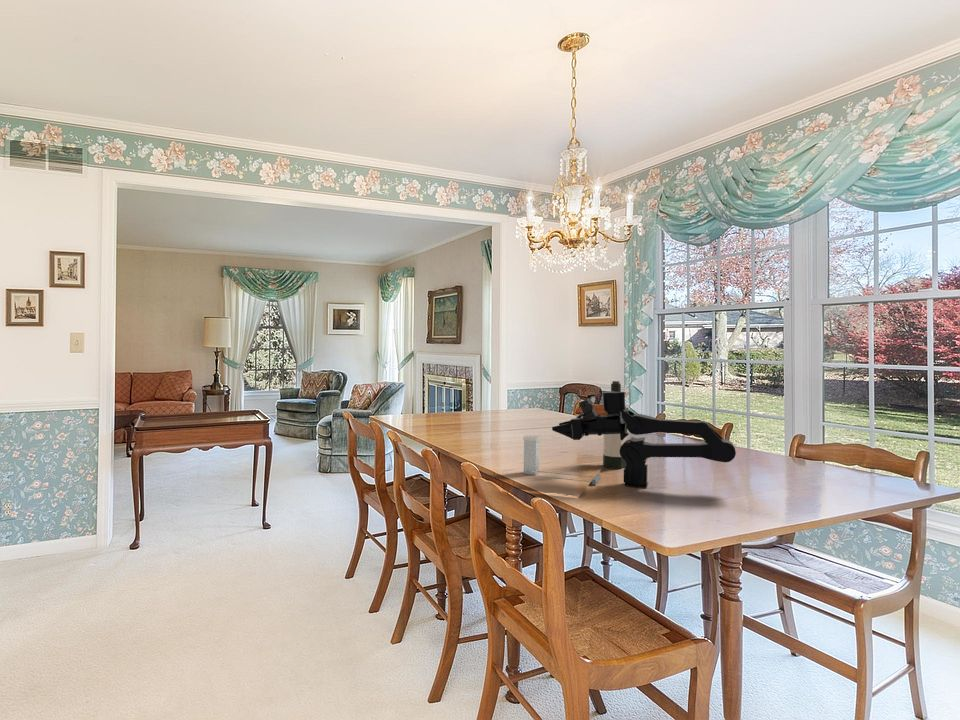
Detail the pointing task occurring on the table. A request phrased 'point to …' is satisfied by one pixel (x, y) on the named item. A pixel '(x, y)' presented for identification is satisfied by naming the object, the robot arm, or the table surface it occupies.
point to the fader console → (593, 482)
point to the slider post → (531, 454)
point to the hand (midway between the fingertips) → (555, 426)
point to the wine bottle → (613, 441)
